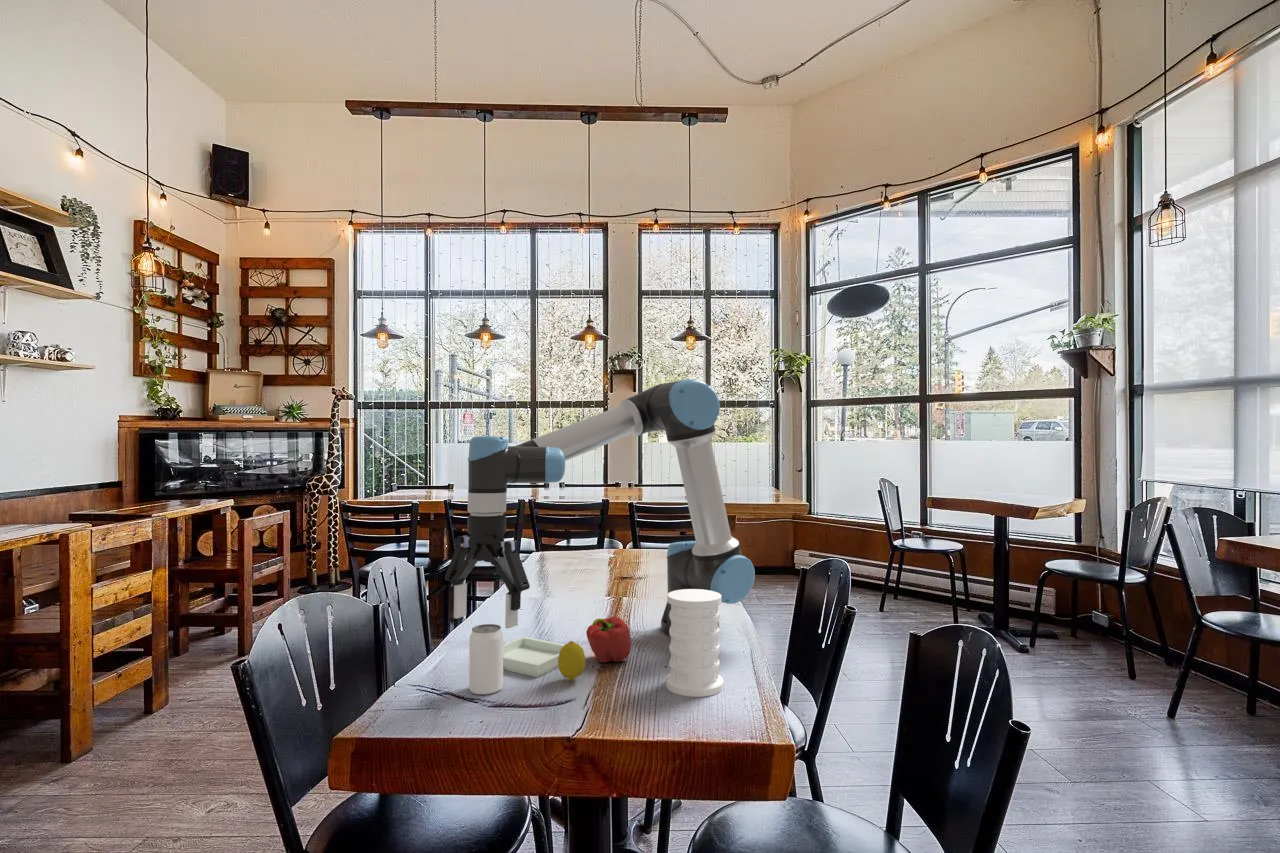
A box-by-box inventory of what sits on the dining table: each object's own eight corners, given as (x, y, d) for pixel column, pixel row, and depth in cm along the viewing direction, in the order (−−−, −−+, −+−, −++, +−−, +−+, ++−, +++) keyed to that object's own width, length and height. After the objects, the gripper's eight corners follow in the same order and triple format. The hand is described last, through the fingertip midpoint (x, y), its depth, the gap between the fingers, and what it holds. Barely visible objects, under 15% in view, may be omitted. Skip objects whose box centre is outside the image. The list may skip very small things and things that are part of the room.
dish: (577, 657, 143) (577, 646, 143) (538, 677, 130) (538, 665, 131) (522, 646, 151) (522, 636, 151) (480, 664, 138) (480, 653, 138)
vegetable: (610, 672, 133) (610, 625, 134) (574, 662, 140) (574, 617, 140) (641, 658, 142) (641, 614, 142) (606, 649, 148) (606, 607, 149)
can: (505, 683, 128) (505, 623, 128) (499, 695, 121) (499, 632, 122) (473, 683, 127) (473, 623, 128) (465, 696, 121) (466, 633, 121)
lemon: (555, 677, 130) (555, 638, 131) (581, 674, 132) (581, 636, 133) (561, 687, 125) (561, 646, 125) (588, 683, 127) (588, 643, 127)
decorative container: (720, 675, 132) (720, 588, 132) (726, 697, 120) (726, 602, 121) (665, 674, 132) (665, 588, 133) (666, 696, 120) (665, 601, 121)
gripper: (548, 515, 122) (547, 626, 122) (455, 509, 135) (453, 609, 134) (523, 519, 116) (521, 636, 115) (428, 511, 128) (425, 617, 127)
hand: (485, 621), depth 125 cm, fingers open, 13 cm apart
